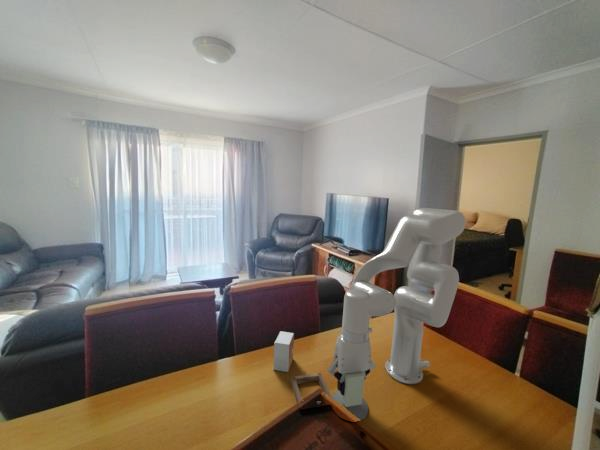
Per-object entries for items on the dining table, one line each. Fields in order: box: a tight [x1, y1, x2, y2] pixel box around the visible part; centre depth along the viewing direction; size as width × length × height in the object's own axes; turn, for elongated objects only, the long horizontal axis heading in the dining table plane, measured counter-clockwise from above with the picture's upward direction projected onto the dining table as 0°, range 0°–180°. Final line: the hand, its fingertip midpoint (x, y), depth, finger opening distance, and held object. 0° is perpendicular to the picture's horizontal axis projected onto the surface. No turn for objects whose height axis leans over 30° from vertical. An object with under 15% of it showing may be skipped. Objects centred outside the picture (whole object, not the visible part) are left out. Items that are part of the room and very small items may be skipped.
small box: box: [272, 330, 295, 373], centre depth 93 cm, size 8×6×10 cm
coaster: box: [331, 391, 369, 421], centre depth 77 cm, size 11×11×1 cm
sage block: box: [337, 372, 365, 407], centre depth 76 cm, size 5×6×9 cm
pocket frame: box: [290, 372, 333, 405], centre depth 81 cm, size 10×11×2 cm
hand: (350, 389), depth 76 cm, fingers closed on sage block, 5 cm apart
